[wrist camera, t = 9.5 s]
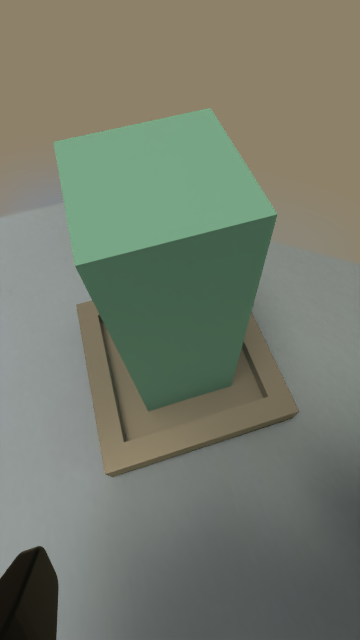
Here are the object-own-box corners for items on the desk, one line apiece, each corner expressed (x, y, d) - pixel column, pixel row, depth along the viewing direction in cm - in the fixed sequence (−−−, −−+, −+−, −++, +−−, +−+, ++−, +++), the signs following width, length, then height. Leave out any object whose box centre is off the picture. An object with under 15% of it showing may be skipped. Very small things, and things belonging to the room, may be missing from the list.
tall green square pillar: (231, 385, 19) (277, 214, 8) (148, 411, 19) (74, 265, 8) (204, 315, 22) (210, 108, 11) (129, 336, 21) (53, 141, 10)
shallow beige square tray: (291, 418, 19) (299, 411, 18) (112, 476, 18) (105, 474, 17) (226, 278, 24) (228, 263, 23) (83, 317, 23) (76, 304, 22)
